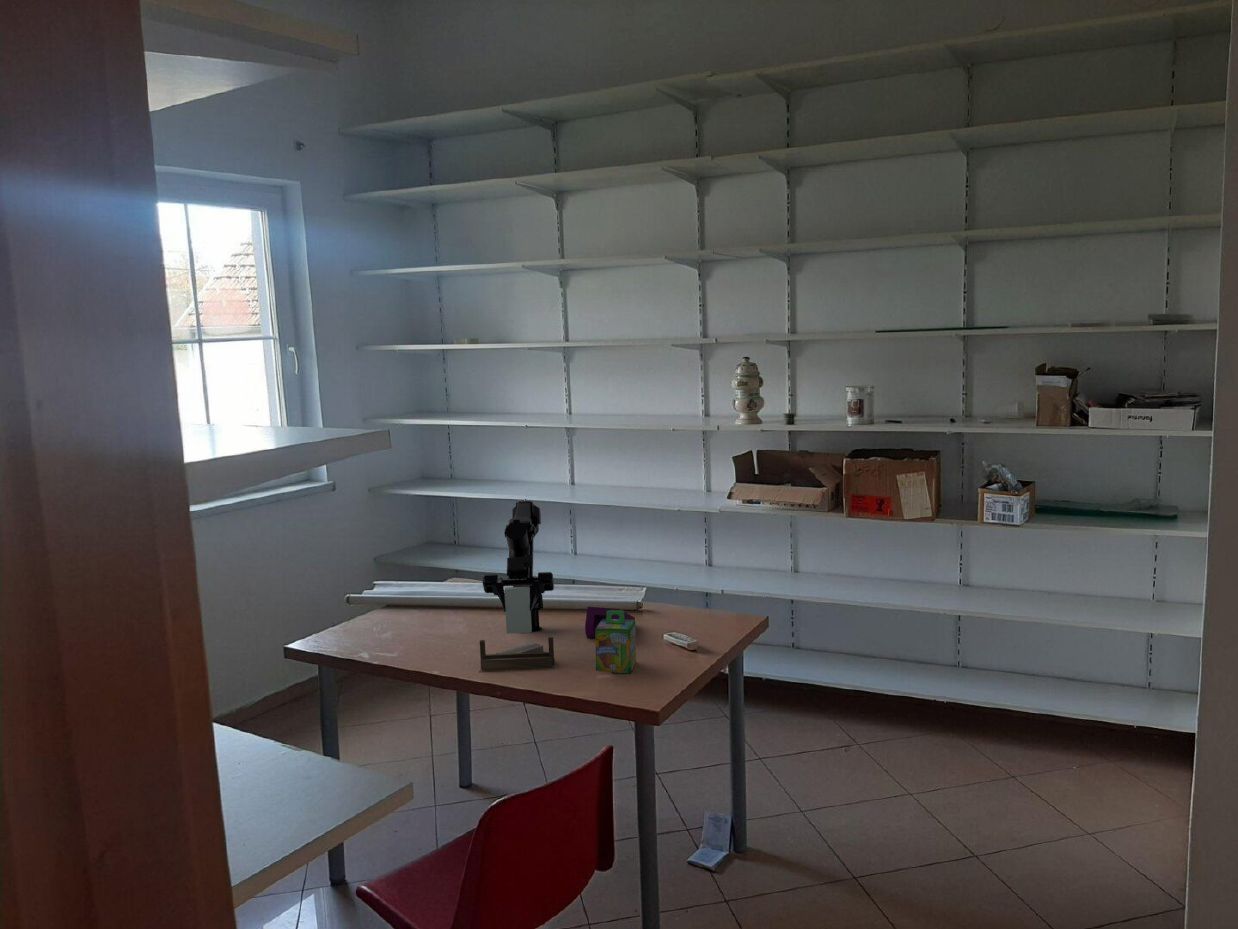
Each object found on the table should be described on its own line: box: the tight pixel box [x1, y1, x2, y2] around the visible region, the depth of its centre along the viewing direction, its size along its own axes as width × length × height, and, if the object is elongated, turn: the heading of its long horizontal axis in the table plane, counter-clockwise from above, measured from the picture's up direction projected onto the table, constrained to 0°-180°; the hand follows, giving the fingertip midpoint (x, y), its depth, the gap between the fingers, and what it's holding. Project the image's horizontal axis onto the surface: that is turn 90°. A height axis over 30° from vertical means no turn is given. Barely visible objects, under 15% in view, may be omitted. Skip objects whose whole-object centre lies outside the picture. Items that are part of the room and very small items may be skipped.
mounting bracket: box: [584, 606, 636, 640], centre depth 264 cm, size 10×8×18 cm
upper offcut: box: [495, 641, 544, 654], centre depth 246 cm, size 5×12×2 cm, turn 134°
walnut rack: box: [478, 636, 556, 673], centre depth 237 cm, size 8×19×8 cm, turn 91°
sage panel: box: [504, 586, 533, 634], centre depth 244 cm, size 2×6×12 cm, turn 91°
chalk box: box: [594, 609, 637, 675], centre depth 235 cm, size 9×9×15 cm
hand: (517, 610), depth 243 cm, fingers closed on sage panel, 6 cm apart
